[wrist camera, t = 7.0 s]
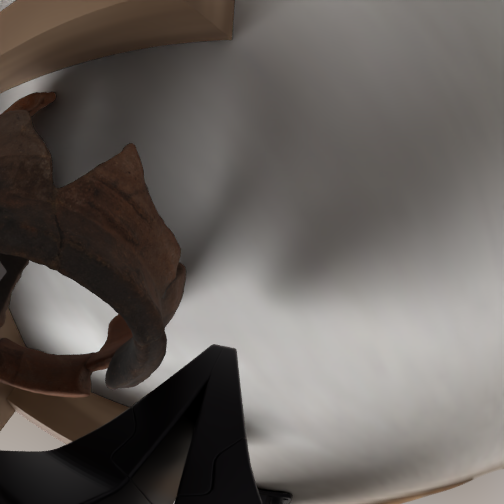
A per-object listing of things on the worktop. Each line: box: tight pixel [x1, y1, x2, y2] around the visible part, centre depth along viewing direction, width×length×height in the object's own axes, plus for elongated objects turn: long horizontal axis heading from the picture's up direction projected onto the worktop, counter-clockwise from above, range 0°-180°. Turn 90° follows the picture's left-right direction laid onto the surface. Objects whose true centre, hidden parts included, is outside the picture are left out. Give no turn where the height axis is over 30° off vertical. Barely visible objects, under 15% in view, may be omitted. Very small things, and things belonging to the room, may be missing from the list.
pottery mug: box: [0, 92, 186, 398], centre depth 8 cm, size 12×10×8 cm
